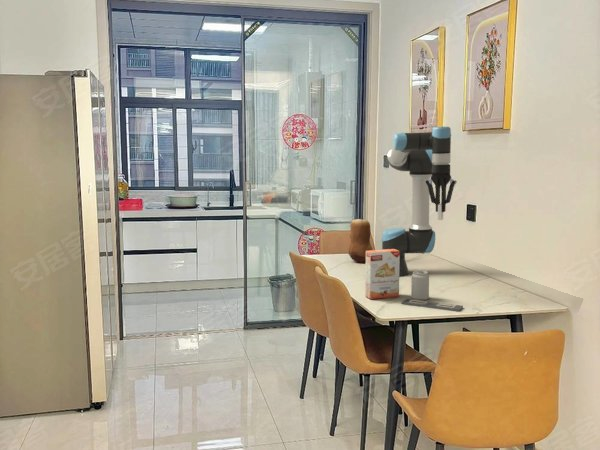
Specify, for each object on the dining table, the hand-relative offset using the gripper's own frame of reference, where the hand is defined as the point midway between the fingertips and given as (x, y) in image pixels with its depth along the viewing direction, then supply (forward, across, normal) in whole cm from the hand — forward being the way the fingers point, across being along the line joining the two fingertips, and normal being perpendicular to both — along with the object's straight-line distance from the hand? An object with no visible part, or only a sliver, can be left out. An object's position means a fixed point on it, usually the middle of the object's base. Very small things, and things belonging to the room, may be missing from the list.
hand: (440, 219), depth 237 cm
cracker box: (+35, +23, +9) cm, 42 cm away
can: (+35, +7, +5) cm, 36 cm away
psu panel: (+34, -1, +13) cm, 37 cm away
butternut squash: (+35, +64, -55) cm, 91 cm away
